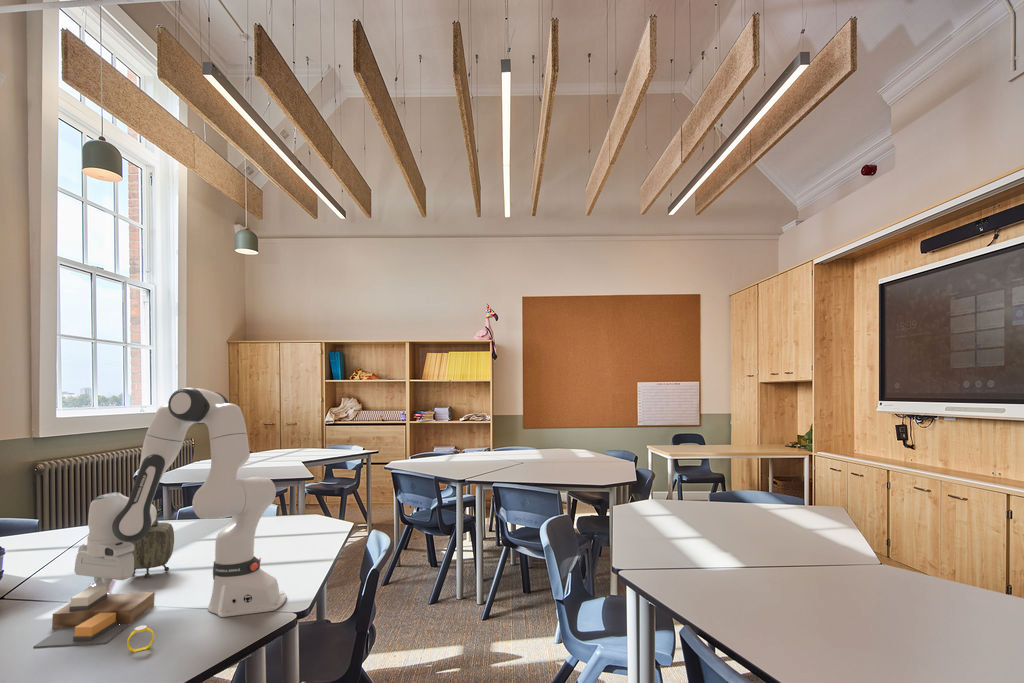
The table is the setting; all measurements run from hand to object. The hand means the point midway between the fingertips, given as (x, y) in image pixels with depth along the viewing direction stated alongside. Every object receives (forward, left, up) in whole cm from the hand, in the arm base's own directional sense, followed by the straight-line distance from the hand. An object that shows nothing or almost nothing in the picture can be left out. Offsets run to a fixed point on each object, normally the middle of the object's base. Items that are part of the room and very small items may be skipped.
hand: (102, 591), depth 181 cm
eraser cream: (0, +7, -1) cm, 7 cm away
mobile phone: (+10, -17, -6) cm, 20 cm away
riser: (-4, +7, -5) cm, 10 cm away
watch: (-26, +31, -5) cm, 41 cm away
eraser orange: (-9, +20, -5) cm, 22 cm away
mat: (-6, +20, -5) cm, 22 cm away
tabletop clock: (0, -29, -5) cm, 29 cm away
